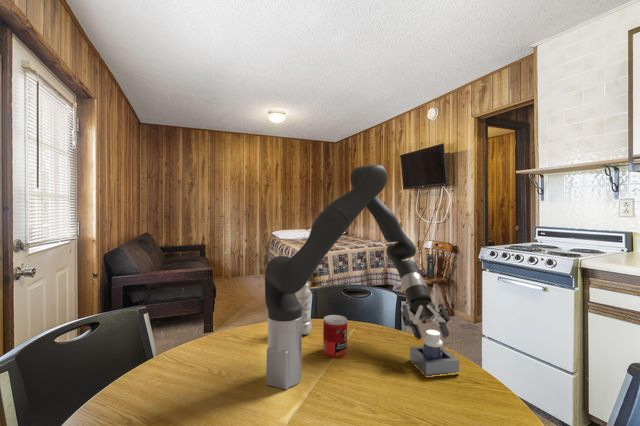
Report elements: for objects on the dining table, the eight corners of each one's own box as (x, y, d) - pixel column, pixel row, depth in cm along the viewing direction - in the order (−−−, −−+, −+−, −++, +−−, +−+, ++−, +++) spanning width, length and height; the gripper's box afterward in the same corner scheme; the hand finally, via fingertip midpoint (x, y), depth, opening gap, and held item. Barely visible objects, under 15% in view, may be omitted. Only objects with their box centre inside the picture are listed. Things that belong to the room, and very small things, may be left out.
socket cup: (459, 376, 84) (459, 360, 84) (426, 379, 82) (426, 363, 82) (439, 359, 94) (439, 344, 94) (409, 361, 92) (409, 347, 92)
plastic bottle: (290, 334, 110) (291, 281, 111) (300, 328, 116) (300, 277, 117) (305, 338, 107) (306, 283, 108) (314, 332, 113) (315, 279, 114)
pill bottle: (443, 370, 85) (444, 337, 85) (424, 368, 86) (424, 335, 86) (440, 361, 90) (441, 329, 90) (422, 359, 91) (422, 327, 91)
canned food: (338, 360, 91) (339, 325, 91) (318, 353, 96) (318, 319, 96) (351, 351, 98) (351, 318, 98) (331, 345, 102) (332, 313, 102)
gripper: (398, 284, 96) (414, 333, 84) (439, 282, 98) (460, 331, 87) (392, 296, 101) (406, 344, 90) (430, 294, 103) (449, 341, 92)
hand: (433, 337), depth 88 cm, fingers open, 8 cm apart
